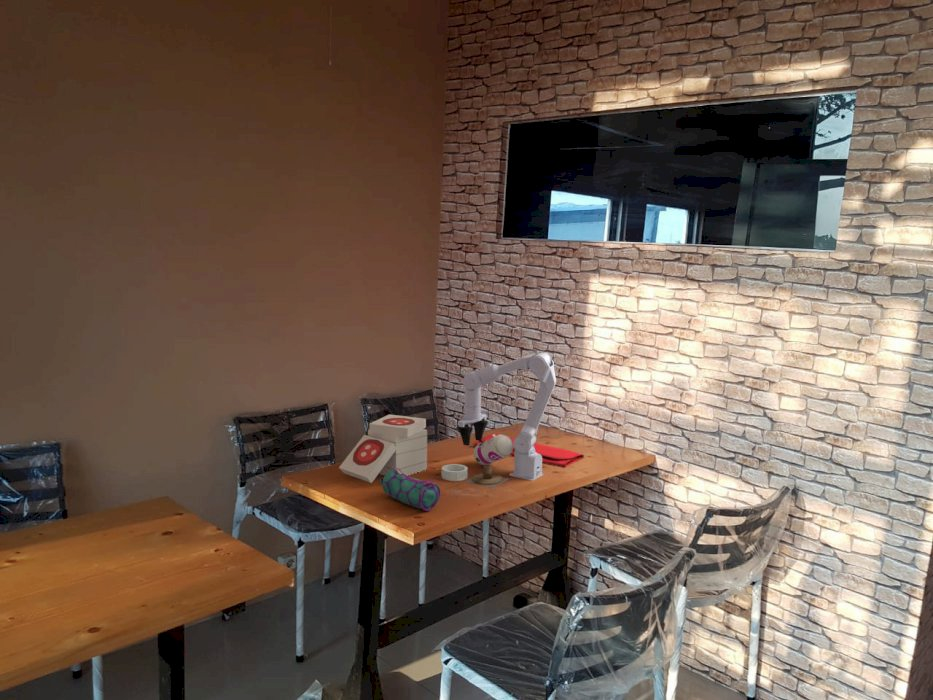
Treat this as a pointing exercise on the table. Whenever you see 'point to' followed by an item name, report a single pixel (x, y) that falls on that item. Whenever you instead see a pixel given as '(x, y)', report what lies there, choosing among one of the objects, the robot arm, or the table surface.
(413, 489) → the pencil case
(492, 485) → the mat
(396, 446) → the pizza boxes
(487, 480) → the lid
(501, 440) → the supplement can
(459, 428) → the robot arm
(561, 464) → the dish drying mat
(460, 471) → the bowl
